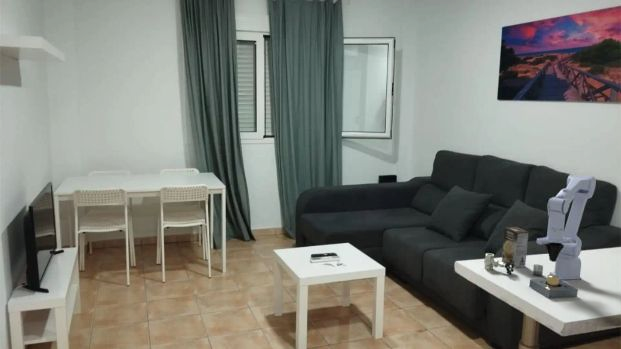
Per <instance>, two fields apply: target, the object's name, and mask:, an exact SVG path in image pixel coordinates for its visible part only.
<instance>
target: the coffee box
mask: <svg viewBox="0 0 621 349" xmlns="http://www.w3.org/2000/svg"><path fill="white" fill-rule="evenodd" d="M529 233H530V232H529V231H527V230H525V229H522V228H520V227H517V226H510V227H504V233H503V243H502V254H501V262H502V263H504V264H507V263H508V262H510V261H509V260H510V259H511V260H513V261H514V265H515V267H514V268H521V267H522V268H523V267H526V261H527V252H528V251H527V250H528V241H529Z"/></svg>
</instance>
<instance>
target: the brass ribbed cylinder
mask: <svg viewBox="0 0 621 349" xmlns="http://www.w3.org/2000/svg"><path fill="white" fill-rule="evenodd" d="M546 279H547V285H549V286H553V287H558V283H559V277H558V276H556V275H552V274H547V277H546Z"/></svg>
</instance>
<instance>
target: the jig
mask: <svg viewBox="0 0 621 349" xmlns="http://www.w3.org/2000/svg"><path fill="white" fill-rule="evenodd" d="M528 287H529V288H531V289H533V290H534V291H536V292H537V293H539V294H541V295H542V296H544V297H545V298H548V299H561V298H577V297H578V293H579V292H578V290H579V289H578V288H577V287H574V286H572V284H569V283H567V282H565V281H564V280H561V279H559V283H558V287H553V286H549V285H547V278H533V279H532V278H531V279H529V286H528Z"/></svg>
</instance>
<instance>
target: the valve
mask: <svg viewBox="0 0 621 349" xmlns="http://www.w3.org/2000/svg"><path fill="white" fill-rule="evenodd" d="M509 261H510V262H508V263H505V262H502V261H501V262H500V261H499V260H498V259H495V254H494V253H489V252H487V253H485V258H484V261H483V262H484V270H486V271H493V270H494V267H495V268H497V267H500V268H504V269H506V274H508V275H512V273H513V272H514V268H516V267H515V265H514V261H513V260H511V259H510V260H509Z"/></svg>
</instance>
